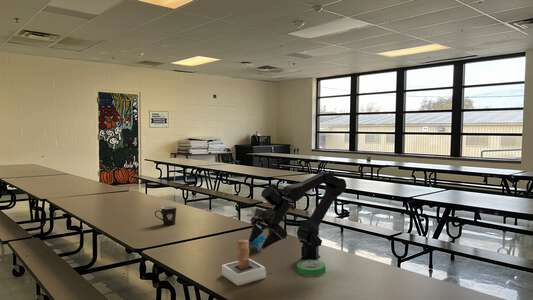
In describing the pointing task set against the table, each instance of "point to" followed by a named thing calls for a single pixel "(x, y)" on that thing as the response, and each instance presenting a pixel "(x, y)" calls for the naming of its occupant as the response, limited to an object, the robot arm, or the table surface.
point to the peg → (243, 255)
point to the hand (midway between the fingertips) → (255, 245)
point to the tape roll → (311, 271)
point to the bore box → (243, 272)
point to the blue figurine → (257, 242)
